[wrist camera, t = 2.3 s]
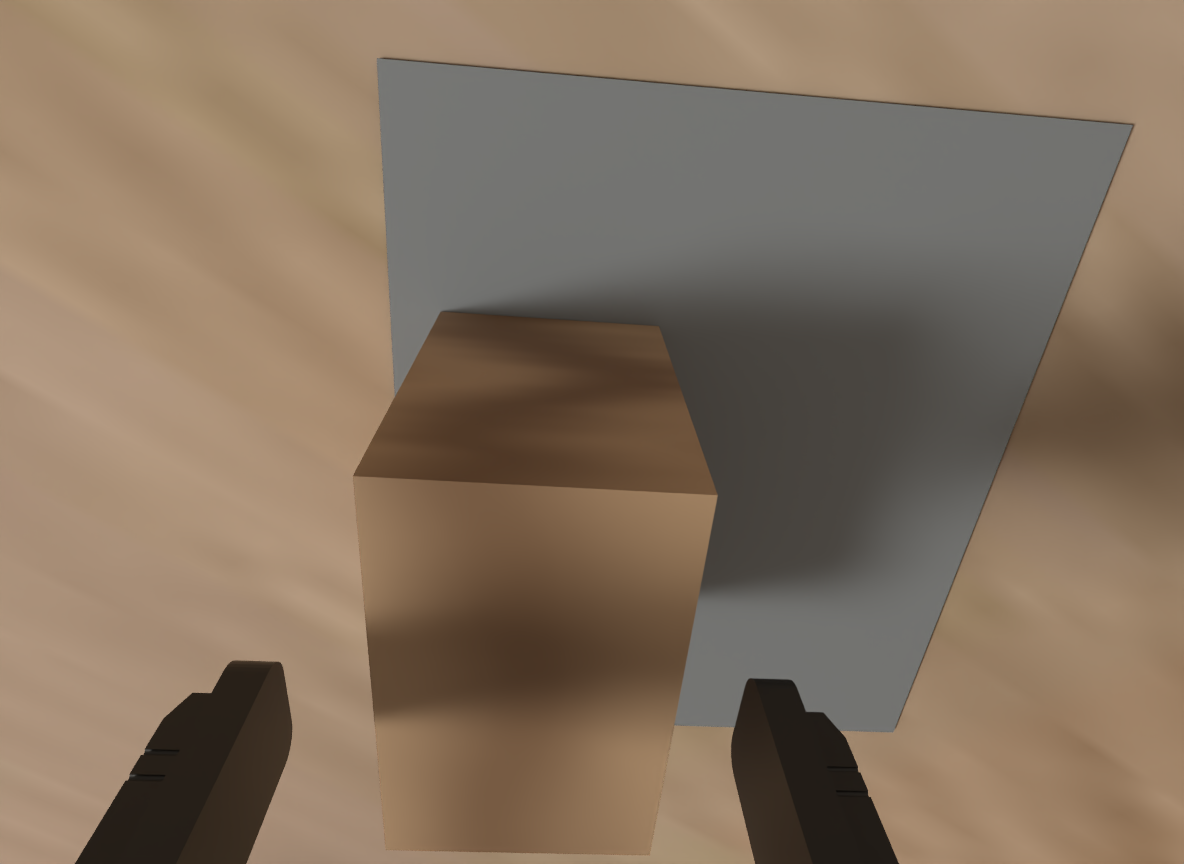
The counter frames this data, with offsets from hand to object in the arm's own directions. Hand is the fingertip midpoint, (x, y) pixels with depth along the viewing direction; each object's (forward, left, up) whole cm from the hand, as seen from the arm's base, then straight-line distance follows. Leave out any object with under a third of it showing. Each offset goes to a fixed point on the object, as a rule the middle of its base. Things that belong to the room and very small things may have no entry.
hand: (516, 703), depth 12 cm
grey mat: (-5, 0, -8) cm, 10 cm away
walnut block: (0, 0, -8) cm, 8 cm away
